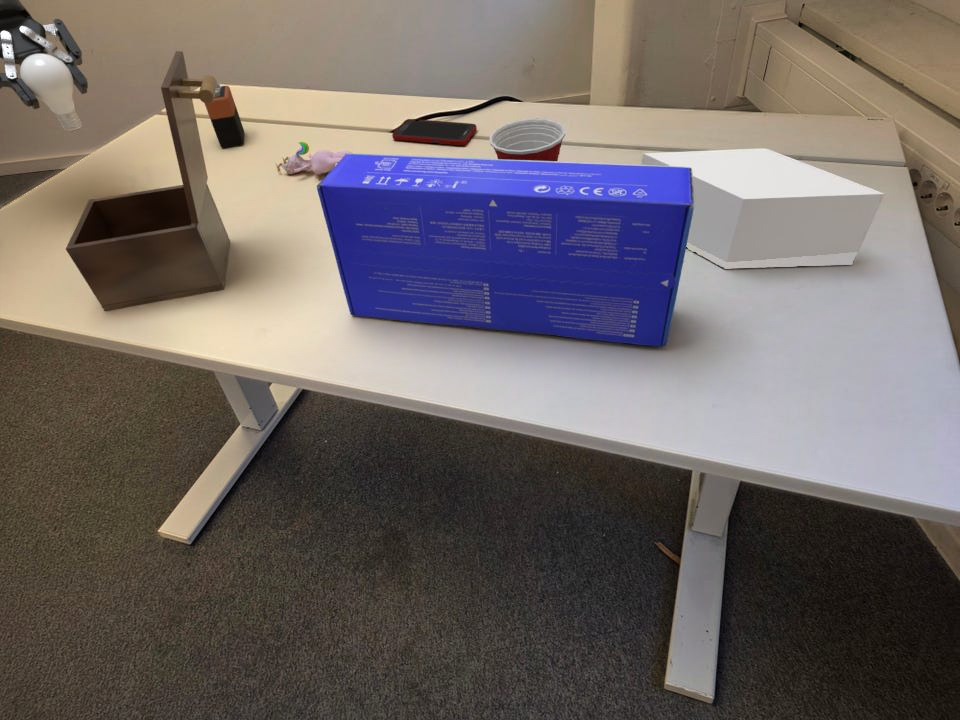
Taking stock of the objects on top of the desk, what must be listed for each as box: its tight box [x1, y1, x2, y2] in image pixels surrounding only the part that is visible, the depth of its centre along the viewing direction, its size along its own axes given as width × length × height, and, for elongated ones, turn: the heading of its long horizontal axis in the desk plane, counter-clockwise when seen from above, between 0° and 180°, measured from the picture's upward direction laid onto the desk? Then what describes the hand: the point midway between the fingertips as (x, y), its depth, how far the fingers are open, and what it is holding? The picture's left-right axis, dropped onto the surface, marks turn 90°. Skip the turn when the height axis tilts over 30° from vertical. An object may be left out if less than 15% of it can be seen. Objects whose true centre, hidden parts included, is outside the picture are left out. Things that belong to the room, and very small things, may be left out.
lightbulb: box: [19, 53, 83, 133], centre depth 89 cm, size 6×6×11 cm
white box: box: [640, 147, 885, 262], centre depth 80 cm, size 14×29×10 cm, turn 62°
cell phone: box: [391, 118, 477, 146], centre depth 114 cm, size 8×15×1 cm, turn 72°
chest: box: [65, 183, 231, 312], centre depth 83 cm, size 16×13×10 cm
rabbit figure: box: [275, 141, 354, 175], centre depth 104 cm, size 6×6×15 cm
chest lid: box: [160, 50, 218, 224], centre depth 75 cm, size 16×13×5 cm
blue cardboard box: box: [316, 153, 694, 347], centre depth 69 cm, size 39×8×18 cm, turn 77°
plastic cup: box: [489, 118, 567, 162], centre depth 89 cm, size 11×11×12 cm
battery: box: [204, 83, 245, 149], centre depth 114 cm, size 4×7×10 cm, turn 15°
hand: (61, 97), depth 89 cm, fingers closed on lightbulb, 6 cm apart
